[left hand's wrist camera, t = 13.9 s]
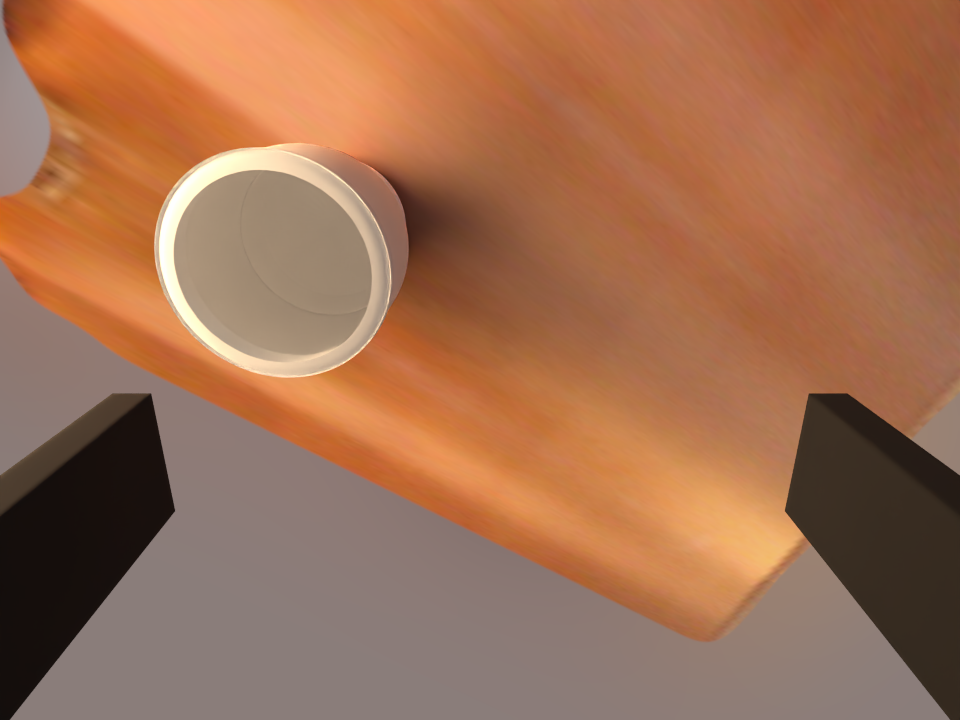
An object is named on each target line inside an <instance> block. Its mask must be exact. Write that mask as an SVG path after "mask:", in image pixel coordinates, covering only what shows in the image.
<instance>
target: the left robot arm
mask: <svg viewBox="0 0 960 720" xmlns="http://www.w3.org/2000/svg"><path fill="white" fill-rule="evenodd" d="M174 512H175V508H174V503H173V498H172V493H171V489H170V484H169V479H168V474H167V469H166V464H165V459H164V454H163V450H162V445H161V440H160V435H159V430H158V425H157V420H156V415H155V410H154V405H153V401H152V396H151V394H111V395H110V396H109V397H107V398H106V399H105V400H103V401H102V402H101V403H99V404H98V405H96V406H95V407H94V408H92V409H91V410H89V411H88V412H87V413H85V414H84V415H83V416H81V417H80V418H78V419H77V420H76V421H74V422H73V423H72V424H70V425H69V426H67V427H66V428H65V429H63V430H62V431H61V432H59V433H58V434H57V435H55V436H54V437H52V438H51V439H50V440H48V441H47V442H46V443H44V444H43V445H41V446H40V447H39V448H37V449H36V450H35V451H33V452H32V453H30V454H29V455H28V456H26V457H25V458H24V459H22V460H21V461H20V462H18V463H17V464H15V465H14V466H13V467H11V468H10V469H8V470H7V471H6V472H4V473H3V474H2V475H0V720H10V719H11V717H12V716H13V715H14V714H15V712H16V711H17V710H18V709H19V707H20V706H21V705H22V704H23V702H24V701H25V700H26V699H27V697H28V696H29V695H30V693H31V692H32V691H33V690H34V688H35V687H36V686H37V685H38V683H39V682H40V681H41V680H42V678H43V677H44V676H45V675H46V673H47V672H48V671H49V669H50V668H51V667H52V666H53V664H54V663H55V662H56V661H57V659H58V658H59V657H60V656H61V654H62V653H63V652H64V651H65V649H66V648H67V647H68V645H69V644H70V643H71V642H72V640H73V639H74V638H75V637H76V635H77V634H78V633H79V632H80V630H81V629H82V628H83V627H84V625H85V624H86V623H87V622H88V620H89V619H90V618H91V616H92V615H93V614H94V613H95V611H96V610H97V609H98V608H99V606H100V605H101V604H102V603H103V601H104V600H105V599H106V598H107V596H108V595H109V594H110V593H111V591H112V590H113V589H114V587H115V586H116V585H117V584H118V582H119V581H120V580H121V579H122V577H123V576H124V575H125V574H126V572H127V571H128V570H129V569H130V567H131V566H132V565H133V563H134V562H135V561H136V560H137V558H138V557H139V556H140V555H141V553H142V552H143V551H144V550H145V548H146V547H147V546H148V545H149V543H150V542H151V541H152V539H153V538H154V537H155V536H156V534H157V533H158V532H159V531H160V529H161V528H162V527H163V526H164V524H165V523H166V522H167V521H168V519H169V518H170V517H171V515H172V514H173V513H174ZM785 512H786V513H787V514H788V516H789V517H790V518H791V519H792V521H793V522H794V523H795V524H796V526H797V527H798V528H799V529H800V531H801V532H802V533H803V534H804V536H805V537H806V538H807V539H808V541H809V542H810V543H811V545H812V546H813V547H814V548H815V550H816V551H817V552H818V553H819V555H820V556H821V557H822V558H823V560H824V561H825V562H826V563H827V565H828V566H829V567H830V568H831V570H832V571H833V572H834V574H835V575H836V576H837V577H838V579H839V580H840V581H841V582H842V584H843V585H844V586H845V587H846V589H847V590H848V591H849V593H850V594H851V595H852V596H853V598H854V599H855V600H856V601H857V603H858V604H859V605H860V606H861V608H862V609H863V610H864V611H865V613H866V614H867V615H868V616H869V618H870V619H871V620H872V621H873V623H874V624H875V625H876V627H877V628H878V629H879V630H880V632H881V633H882V634H883V635H884V637H885V638H886V639H887V640H888V642H889V643H890V644H891V646H892V647H893V648H894V649H895V651H896V652H897V653H898V654H899V656H900V657H901V658H902V659H903V661H904V662H905V663H906V664H907V666H908V667H909V668H910V670H911V671H912V672H913V673H914V675H915V676H916V677H917V678H918V680H919V681H920V682H921V683H922V685H923V686H924V687H925V688H926V690H927V691H928V692H929V693H930V695H931V696H932V697H933V699H934V700H935V701H936V702H937V704H938V705H939V706H940V707H941V709H942V710H943V711H944V712H945V714H946V715H947V716H948V717H949V719H950V720H960V475H958V474H957V473H956V472H954V471H953V470H952V469H950V468H949V467H947V466H946V465H945V464H943V463H942V462H941V461H939V460H938V459H936V458H935V457H934V456H932V455H931V454H929V453H928V452H927V451H925V450H924V449H923V448H921V447H920V446H919V445H917V444H916V443H914V442H913V441H912V440H910V439H909V438H908V437H906V436H905V435H903V434H902V433H901V432H899V431H898V430H897V429H895V428H894V427H893V426H891V425H890V424H888V423H887V422H886V421H884V420H883V419H882V418H880V417H879V416H877V415H876V414H875V413H873V412H872V411H871V410H869V409H868V408H866V407H865V406H864V405H862V404H861V403H860V402H858V401H857V400H855V399H854V398H853V397H851V396H850V395H849V394H809V396H808V401H807V405H806V410H805V415H804V420H803V425H802V430H801V435H800V440H799V445H798V449H797V454H796V459H795V464H794V469H793V474H792V479H791V484H790V489H789V493H788V498H787V503H786V508H785Z"/></svg>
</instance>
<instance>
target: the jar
mask: <svg viewBox="0 0 960 720" xmlns="http://www.w3.org/2000/svg"><path fill="white" fill-rule="evenodd" d="M154 251H155V262H156V268H157V273H158V277H159V280H160V283H161V286H162V289H163V291H164V294H165V296H166V298H167V300H168V302H169V304H170V306H171V308H172V309H173V311H174V313H175V314H176V316H177V317H178V318H179V320H180V321H181V323H182V324H183V325H184V326H185V327H186V329H187V330H188V331H189V332H190V333H191V334H192V335H193V336H194V337H195V338H196V339H197V340H198V341H199V342H200V343H201V344H202V345H204V346H205V347H206V348H207V349H209V350H210V351H211V352H213V353H214V354H216V355H217V356H219V357H221V358H222V359H224V360H226V361H228V362H229V363H231V364H233V365H236V366H238V367H240V368H243V369H245V370H248V371H251V372H255V373H258V374H263V375H268V376H274V377H304V376H311V375H315V374H319V373H323V372H326V371H328V370H331V369H333V368H336V367H338V366H340V365H342V364H343V363H345V362H347V361H348V360H350V359H351V358H352V357H354V356H355V355H356V354H357V353H359V352H360V351H361V350H362V349H363V348H364V347H365V346H366V345H367V344H368V343H369V342H370V341H371V339H372V338H373V337H374V336H375V334H376V333H377V331H378V330H379V328H380V327H381V325H382V323H383V321H384V319H385V317H386V314H387V312H388V309H389V308H390V306H391V305H392V303H393V302H394V300H395V298H396V297H397V295H398V293H399V291H400V288H401V286H402V283H403V280H404V277H405V274H406V269H407V264H408V255H409V243H408V233H407V228H406V220H405V214H404V210H403V206H402V204H401V201H400V199H399V197H398V195H397V193H396V191H395V190H394V188H393V187H392V186H391V184H390V183H389V182H388V181H387V180H386V179H385V178H384V177H383V176H382V175H381V174H380V173H379V172H377V171H376V170H375V169H373V168H372V167H370V166H368V165H366V164H364V163H362V162H360V161H358V160H357V159H355V158H353V157H351V156H349V155H347V154H345V153H343V152H340V151H338V150H335V149H332V148H329V147H325V146H320V145H315V144H306V143H288V144H279V145H274V146H269V147H259V148H242V149H235V150H230V151H226V152H223V153H220V154H217V155H215V156H212V157H210V158H208V159H206V160H204V161H202V162H201V163H199V164H197V165H196V166H194V167H193V168H192V169H190V170H189V171H188V172H187V173H186V174H185V175H184V176H183V177H182V178H181V179H180V180H179V181H178V182H177V183H176V184H175V186H174V187H173V188H172V190H171V191H170V193H169V194H168V196H167V198H166V200H165V202H164V204H163V206H162V209H161V211H160V214H159V217H158V221H157V225H156V231H155V242H154Z"/></svg>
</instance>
